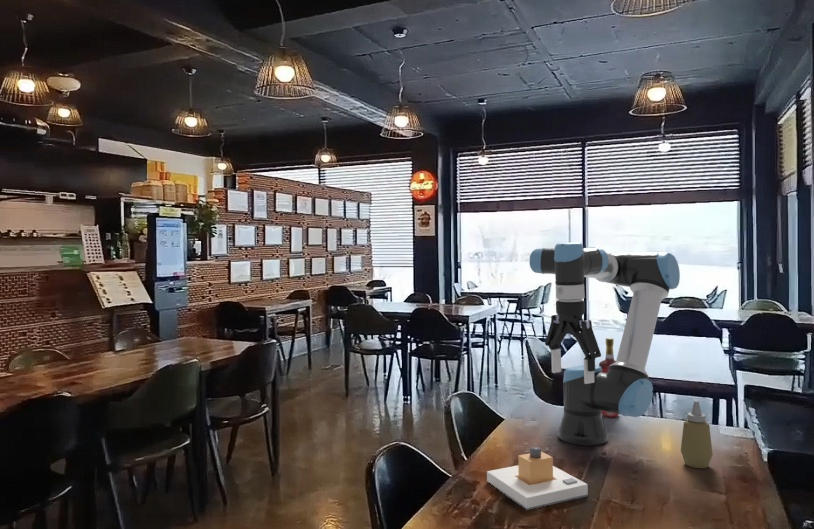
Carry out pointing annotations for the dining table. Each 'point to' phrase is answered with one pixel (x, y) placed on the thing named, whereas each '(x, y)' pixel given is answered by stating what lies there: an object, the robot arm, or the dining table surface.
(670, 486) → the dining table surface
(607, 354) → the liquor
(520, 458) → the plug
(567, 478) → the socket
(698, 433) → the squeeze bottle
